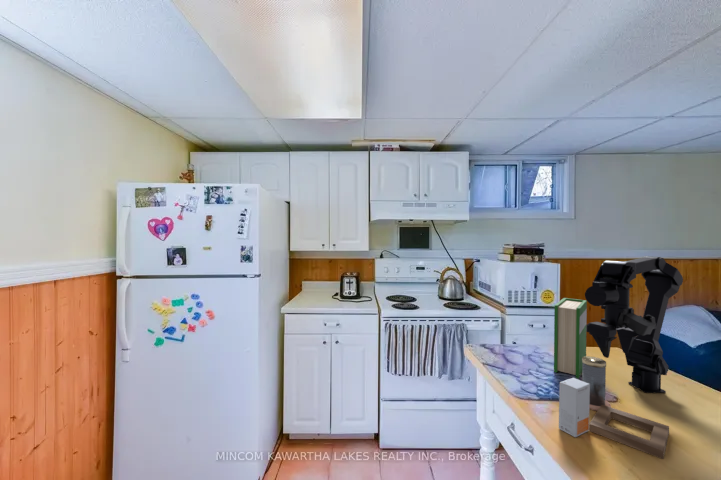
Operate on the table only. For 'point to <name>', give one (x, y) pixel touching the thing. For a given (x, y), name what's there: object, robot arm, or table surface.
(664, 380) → the table surface
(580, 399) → the skincare box
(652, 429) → the pocket frame
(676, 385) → the table surface
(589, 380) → the tea tin
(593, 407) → the coaster
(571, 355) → the hardback book
